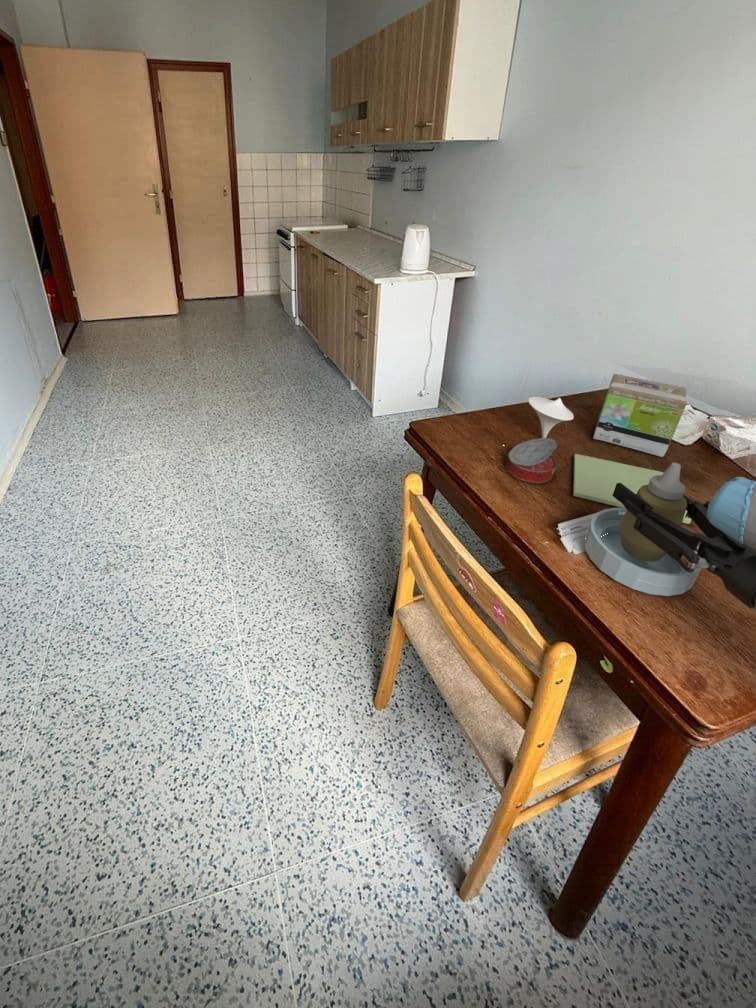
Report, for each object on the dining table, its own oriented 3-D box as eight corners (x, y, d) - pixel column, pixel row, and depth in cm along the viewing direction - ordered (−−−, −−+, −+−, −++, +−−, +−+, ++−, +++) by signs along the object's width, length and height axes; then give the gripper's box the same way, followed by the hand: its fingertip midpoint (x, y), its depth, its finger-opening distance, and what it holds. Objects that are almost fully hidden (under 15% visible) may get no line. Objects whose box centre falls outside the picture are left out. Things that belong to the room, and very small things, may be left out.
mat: (676, 478, 103) (678, 475, 102) (689, 524, 90) (691, 520, 90) (573, 457, 111) (574, 453, 111) (573, 495, 99) (574, 492, 98)
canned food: (534, 500, 105) (533, 477, 98) (497, 474, 112) (494, 451, 105) (569, 467, 106) (570, 442, 99) (531, 443, 113) (529, 419, 106)
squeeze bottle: (663, 575, 77) (705, 487, 68) (608, 551, 82) (640, 466, 73) (672, 548, 82) (711, 462, 73) (619, 526, 87) (650, 444, 78)
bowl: (683, 544, 86) (693, 523, 84) (701, 612, 73) (714, 590, 71) (583, 518, 93) (590, 498, 90) (583, 577, 80) (591, 555, 78)
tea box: (591, 440, 117) (608, 386, 110) (596, 423, 125) (612, 372, 118) (664, 458, 110) (687, 402, 103) (665, 439, 117) (687, 385, 110)
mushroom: (556, 429, 122) (567, 388, 116) (572, 452, 113) (585, 408, 107) (515, 428, 123) (524, 387, 118) (527, 451, 114) (538, 407, 108)
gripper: (704, 626, 62) (579, 511, 82) (821, 598, 65) (673, 494, 85) (726, 586, 58) (590, 476, 78) (849, 558, 61) (688, 460, 81)
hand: (634, 486), depth 81 cm, fingers closed on squeeze bottle, 6 cm apart
